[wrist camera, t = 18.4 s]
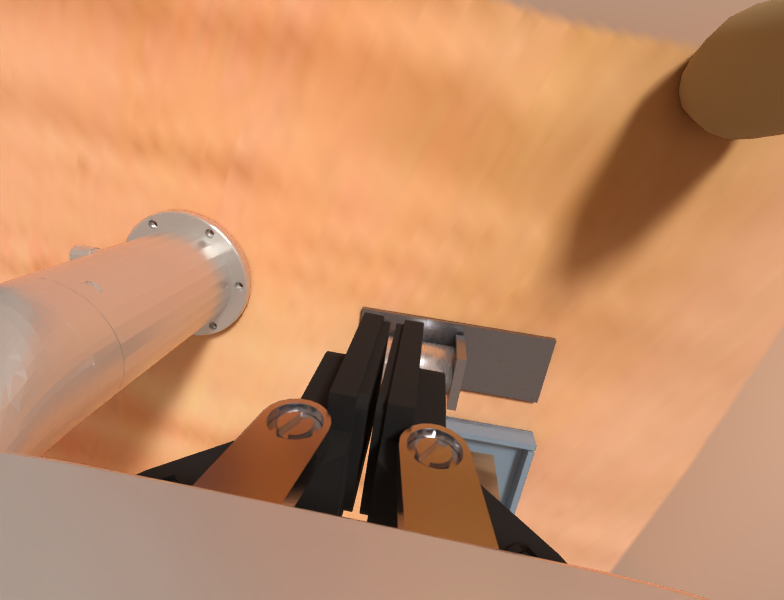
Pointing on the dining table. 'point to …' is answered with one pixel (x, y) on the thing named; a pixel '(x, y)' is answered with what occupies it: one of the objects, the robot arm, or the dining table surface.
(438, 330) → the rail
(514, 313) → the dining table surface
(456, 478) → the robot arm
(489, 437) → the tray
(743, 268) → the dining table surface
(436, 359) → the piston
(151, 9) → the dining table surface
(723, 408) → the dining table surface
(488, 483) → the block
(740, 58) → the squeeze bottle
